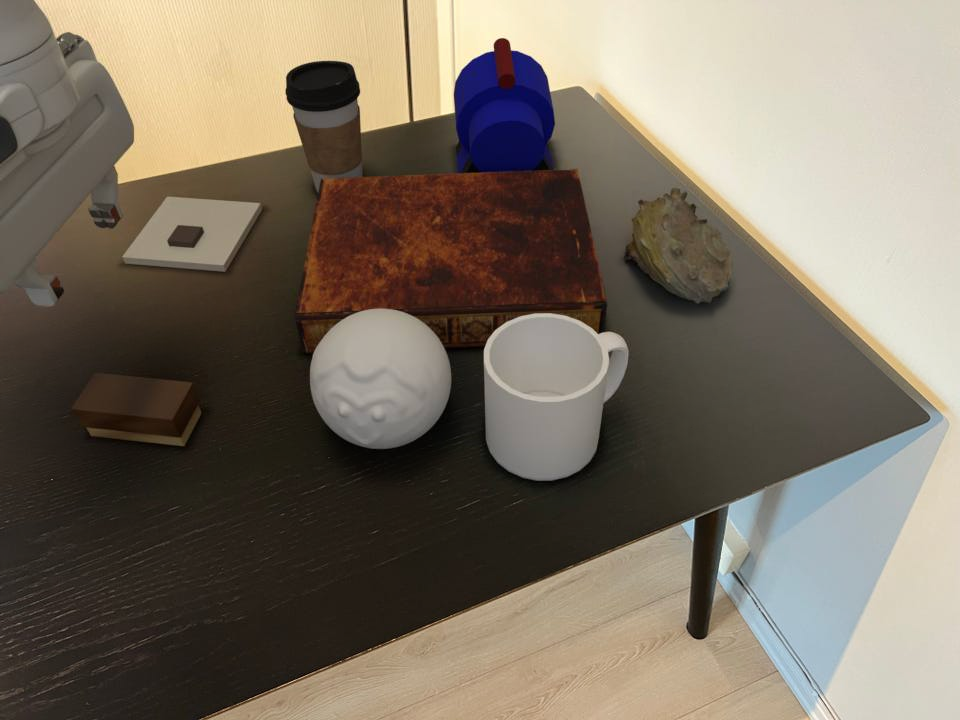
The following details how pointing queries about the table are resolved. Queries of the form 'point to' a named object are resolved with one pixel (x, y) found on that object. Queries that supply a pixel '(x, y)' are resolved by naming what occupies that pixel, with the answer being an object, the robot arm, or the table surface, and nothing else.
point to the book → (451, 253)
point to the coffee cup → (327, 117)
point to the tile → (216, 245)
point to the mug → (548, 393)
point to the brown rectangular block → (138, 409)
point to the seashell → (679, 248)
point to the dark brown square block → (185, 236)
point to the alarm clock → (503, 113)
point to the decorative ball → (380, 378)
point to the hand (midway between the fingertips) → (82, 259)
